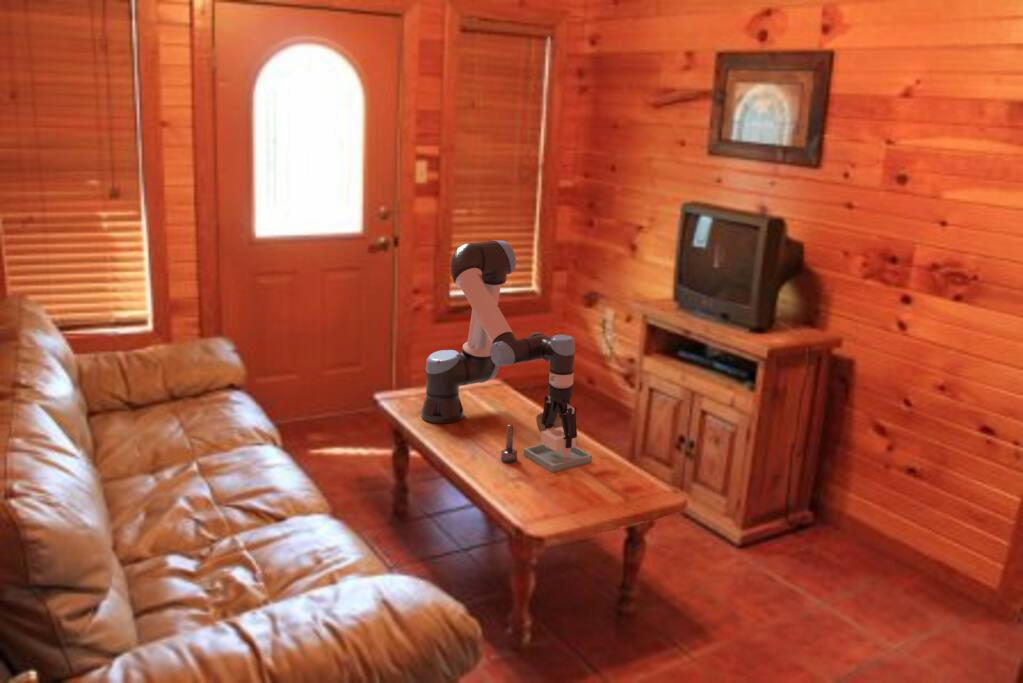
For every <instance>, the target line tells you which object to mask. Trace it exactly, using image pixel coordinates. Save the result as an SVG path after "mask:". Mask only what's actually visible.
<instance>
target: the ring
mask: <svg viewBox="0 0 1023 683" xmlns="http://www.w3.org/2000/svg"><path fill="white" fill-rule="evenodd" d="M564 437H565V435H564V430H563V428H562V427H558V428H554V429H550V430H546V431H542V432H541V433H540V444H543V445H545V446H546V447H548V448H550V449H552V450H553V451H555V452H557V451H561V450H563V438H564ZM573 447H577V437H576V438H572V447H571V448H573Z"/></svg>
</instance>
